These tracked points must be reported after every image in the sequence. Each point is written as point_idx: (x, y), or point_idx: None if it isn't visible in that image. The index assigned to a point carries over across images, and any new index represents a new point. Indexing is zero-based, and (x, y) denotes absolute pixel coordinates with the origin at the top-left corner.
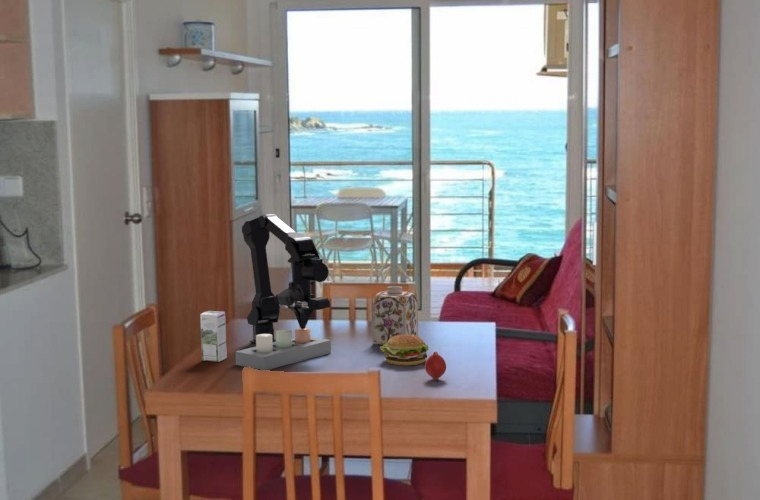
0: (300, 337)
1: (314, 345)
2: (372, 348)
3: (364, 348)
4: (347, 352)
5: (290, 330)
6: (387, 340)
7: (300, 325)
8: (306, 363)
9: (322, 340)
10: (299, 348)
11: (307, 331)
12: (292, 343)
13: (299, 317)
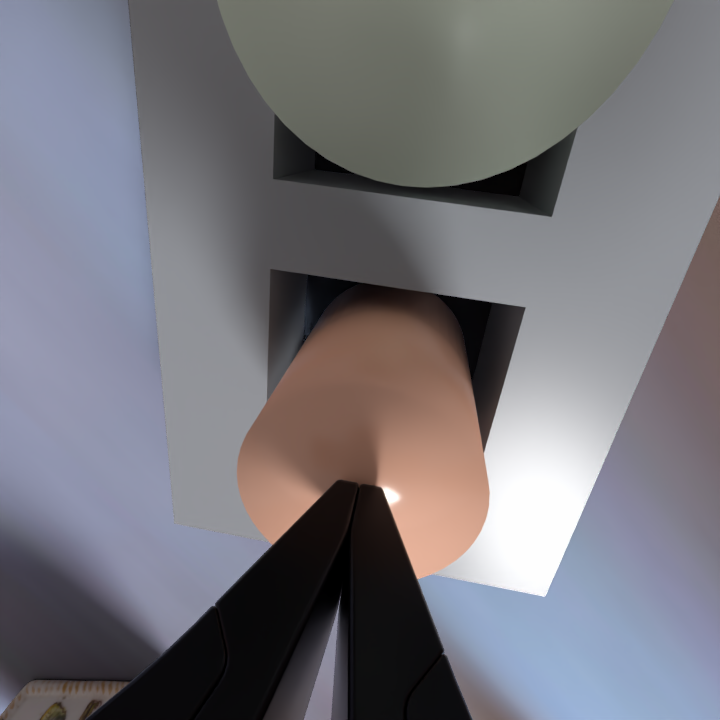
0: (332, 342)
1: (163, 317)
2: (118, 616)
3: (151, 605)
4: (149, 502)
5: (310, 107)
6: (94, 708)
7: (362, 516)
8: (96, 17)
9: (224, 490)
10: (134, 27)
11: (245, 448)
12: (410, 229)
13: (345, 674)
